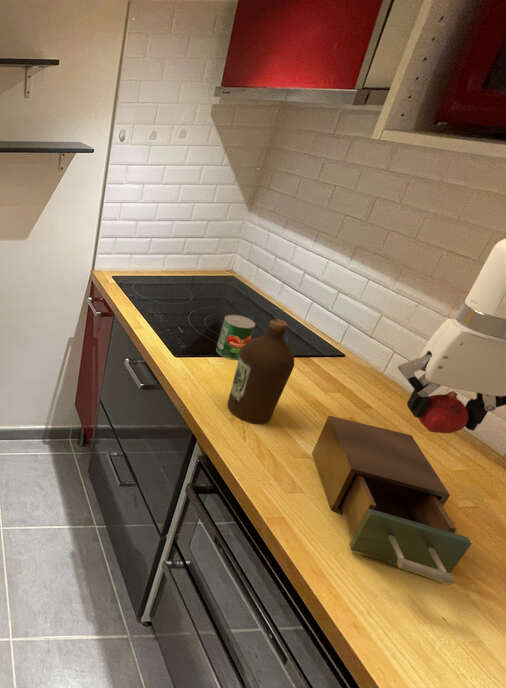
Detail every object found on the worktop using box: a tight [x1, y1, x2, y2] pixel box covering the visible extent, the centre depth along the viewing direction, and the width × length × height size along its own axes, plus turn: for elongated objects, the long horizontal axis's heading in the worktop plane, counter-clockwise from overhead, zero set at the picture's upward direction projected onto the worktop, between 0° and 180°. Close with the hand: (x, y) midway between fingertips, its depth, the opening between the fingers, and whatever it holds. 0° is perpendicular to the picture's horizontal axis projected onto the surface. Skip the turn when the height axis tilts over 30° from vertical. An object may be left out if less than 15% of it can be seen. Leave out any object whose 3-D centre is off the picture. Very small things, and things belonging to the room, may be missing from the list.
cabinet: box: [311, 415, 451, 514], centre depth 86 cm, size 16×14×11 cm
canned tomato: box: [215, 314, 256, 361], centre depth 131 cm, size 8×8×11 cm
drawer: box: [340, 473, 472, 585], centre depth 75 cm, size 20×12×9 cm, turn 156°
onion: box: [417, 390, 469, 434], centre depth 72 cm, size 6×6×8 cm
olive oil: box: [227, 318, 295, 425], centre depth 104 cm, size 11×11×25 cm
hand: (439, 417), depth 73 cm, fingers closed on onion, 5 cm apart
